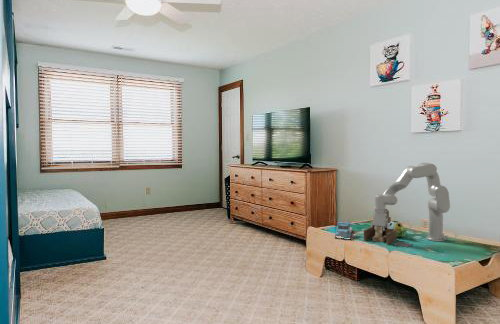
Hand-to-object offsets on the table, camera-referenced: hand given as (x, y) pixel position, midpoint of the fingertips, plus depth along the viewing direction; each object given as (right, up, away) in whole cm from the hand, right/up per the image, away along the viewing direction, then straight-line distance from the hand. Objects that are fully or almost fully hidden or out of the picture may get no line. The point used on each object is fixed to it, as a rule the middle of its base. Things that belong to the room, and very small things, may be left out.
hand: (379, 234), depth 273 cm
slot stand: (0, -4, 0) cm, 4 cm away
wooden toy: (+14, -3, +28) cm, 31 cm away
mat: (+13, -5, -11) cm, 18 cm away
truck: (-23, -4, +18) cm, 29 cm away
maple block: (0, -1, 0) cm, 1 cm away
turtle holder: (+17, -4, +10) cm, 20 cm away
